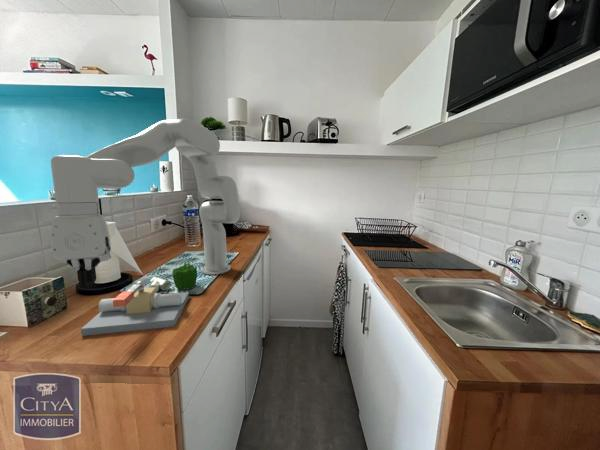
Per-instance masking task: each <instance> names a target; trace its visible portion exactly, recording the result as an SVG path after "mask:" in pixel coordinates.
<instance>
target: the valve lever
mask: <svg viewBox="0 0 600 450" xmlns="http://www.w3.org/2000/svg"><path fill="white" fill-rule="evenodd" d="M147 285H148V281H147V279H145V278H143V279H142V278H141V279H137V280H134V281H133V284H132V285H131V286H130V287H129V288H128V289H127V290H126V291H121V292H120V293H119V294H118V295H117V296H115V299H114V300H113V307H121V306H126V305H127V304H128V303H129V302H130V301H131V300H132V299H133V298H134V294H135V293H136V292H137V291H138V292H143V291H144V288H146V286H147Z"/></svg>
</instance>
